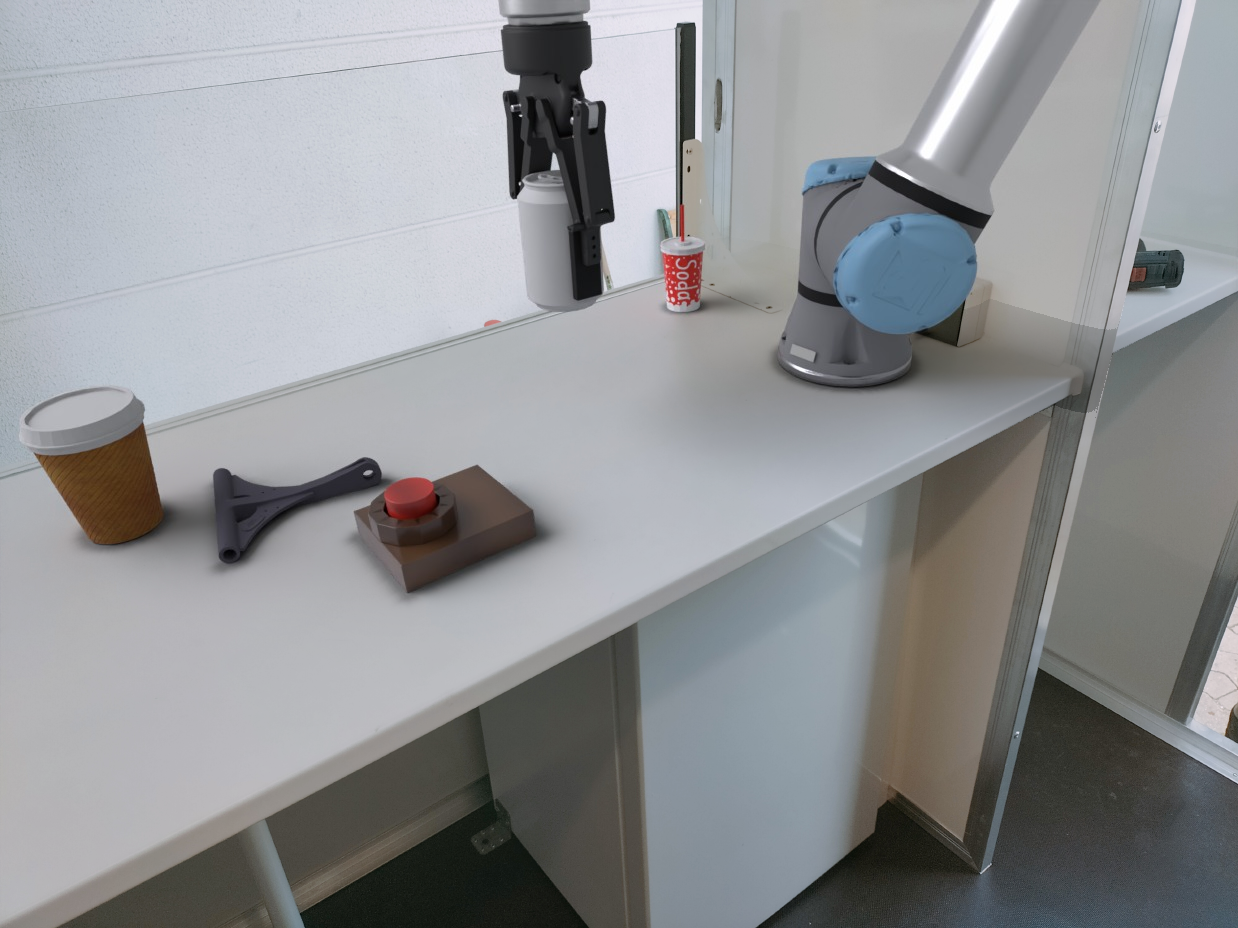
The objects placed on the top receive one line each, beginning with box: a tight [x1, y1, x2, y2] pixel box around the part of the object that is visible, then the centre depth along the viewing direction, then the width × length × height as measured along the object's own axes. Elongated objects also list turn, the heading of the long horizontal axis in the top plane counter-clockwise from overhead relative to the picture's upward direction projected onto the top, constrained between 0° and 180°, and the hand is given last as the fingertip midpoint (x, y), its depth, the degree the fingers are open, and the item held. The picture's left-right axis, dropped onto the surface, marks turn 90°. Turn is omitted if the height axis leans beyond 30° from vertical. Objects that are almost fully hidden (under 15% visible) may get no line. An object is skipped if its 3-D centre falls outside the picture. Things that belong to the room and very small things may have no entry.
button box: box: [353, 464, 537, 594], centre depth 72 cm, size 12×10×4 cm
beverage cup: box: [659, 204, 706, 313], centre depth 116 cm, size 6×6×14 cm
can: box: [516, 169, 605, 313], centre depth 80 cm, size 8×8×12 cm
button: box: [384, 476, 437, 520], centre depth 70 cm, size 4×4×2 cm
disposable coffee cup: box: [18, 384, 164, 545], centre depth 75 cm, size 10×10×12 cm
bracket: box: [212, 456, 383, 564], centre depth 79 cm, size 14×15×3 cm
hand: (565, 285), depth 82 cm, fingers closed on can, 7 cm apart
